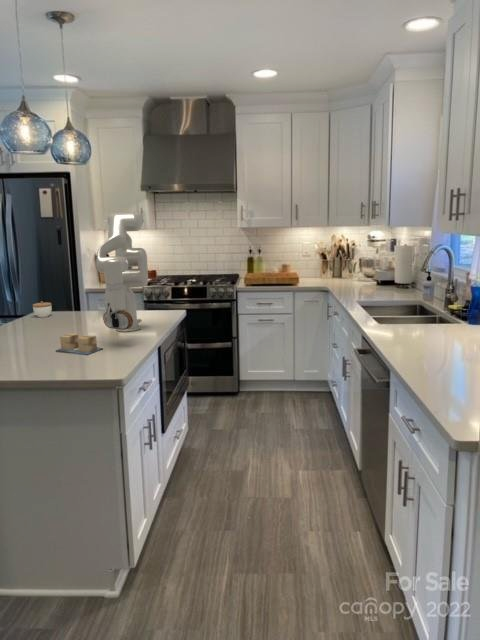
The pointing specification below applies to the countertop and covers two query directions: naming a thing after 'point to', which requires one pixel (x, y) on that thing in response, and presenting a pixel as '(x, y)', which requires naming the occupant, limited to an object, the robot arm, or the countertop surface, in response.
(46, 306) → the lidded jar
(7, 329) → the countertop surface
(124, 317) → the tin
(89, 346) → the bridge base
